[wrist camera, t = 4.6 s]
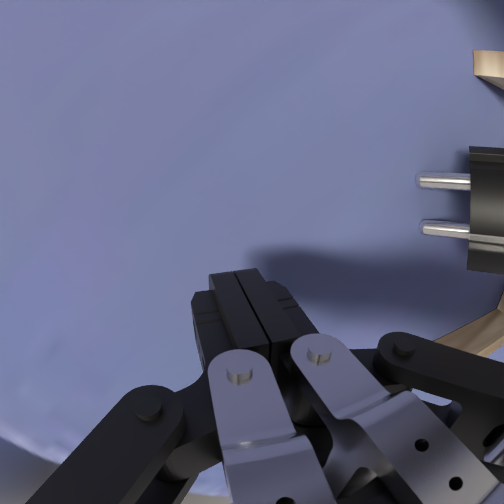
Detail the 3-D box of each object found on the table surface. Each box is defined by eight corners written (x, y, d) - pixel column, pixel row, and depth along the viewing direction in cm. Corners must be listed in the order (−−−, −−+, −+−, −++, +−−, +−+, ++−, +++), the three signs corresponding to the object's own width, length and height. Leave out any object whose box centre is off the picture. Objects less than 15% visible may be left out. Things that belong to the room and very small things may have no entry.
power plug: (528, 189, 16) (554, 307, 8) (439, 182, 21) (408, 288, 13) (527, 112, 13) (583, 186, 6) (430, 109, 18) (399, 171, 11)
